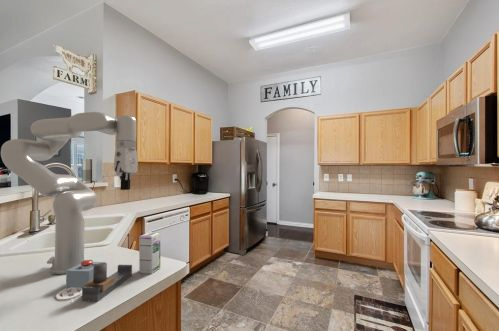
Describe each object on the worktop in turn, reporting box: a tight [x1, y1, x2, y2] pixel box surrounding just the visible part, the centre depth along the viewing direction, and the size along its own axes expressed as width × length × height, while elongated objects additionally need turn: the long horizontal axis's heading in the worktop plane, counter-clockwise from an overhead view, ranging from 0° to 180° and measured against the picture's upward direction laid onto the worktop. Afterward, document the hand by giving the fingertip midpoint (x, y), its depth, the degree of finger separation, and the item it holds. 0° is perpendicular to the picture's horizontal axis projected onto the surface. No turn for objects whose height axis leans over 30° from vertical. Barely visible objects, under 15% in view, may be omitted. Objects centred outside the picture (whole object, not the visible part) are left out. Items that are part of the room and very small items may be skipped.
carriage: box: [85, 262, 114, 291], centre depth 74 cm, size 6×5×7 cm
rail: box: [81, 264, 133, 303], centre depth 79 cm, size 5×18×4 cm, turn 176°
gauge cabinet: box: [65, 261, 106, 289], centre depth 82 cm, size 8×8×6 cm
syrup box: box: [138, 231, 161, 275], centre depth 93 cm, size 6×6×14 cm
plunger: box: [81, 259, 94, 269], centre depth 82 cm, size 3×3×4 cm
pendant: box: [55, 287, 82, 304], centre depth 73 cm, size 7×11×1 cm, turn 45°
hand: (125, 189), depth 96 cm, fingers closed
